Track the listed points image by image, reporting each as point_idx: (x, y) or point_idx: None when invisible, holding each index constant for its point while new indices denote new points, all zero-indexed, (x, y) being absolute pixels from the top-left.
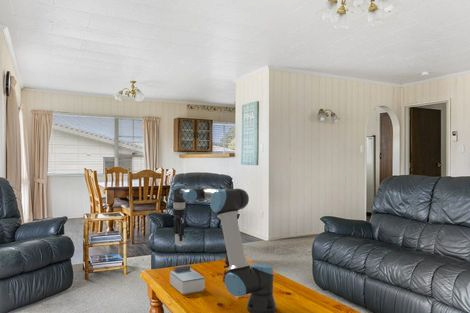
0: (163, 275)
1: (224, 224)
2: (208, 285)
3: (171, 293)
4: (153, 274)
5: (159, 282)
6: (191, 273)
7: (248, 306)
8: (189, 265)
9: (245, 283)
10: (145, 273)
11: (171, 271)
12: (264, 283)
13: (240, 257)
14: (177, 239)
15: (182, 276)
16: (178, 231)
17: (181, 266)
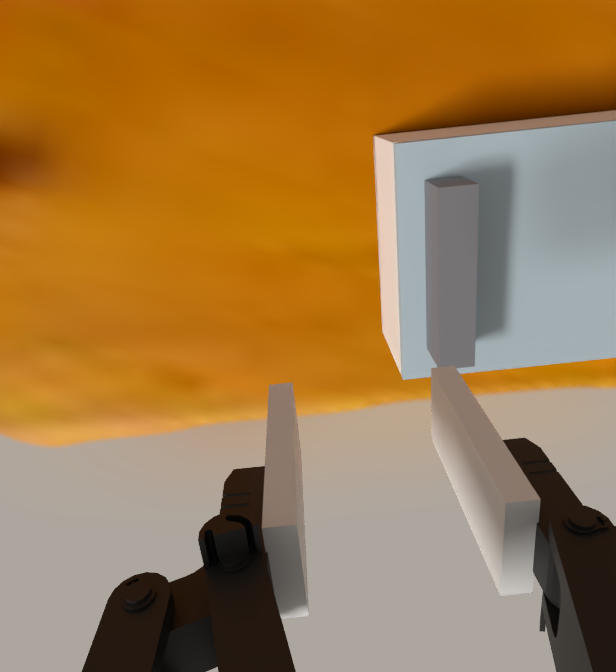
0: (135, 327)
1: None
2: (580, 7)
3: (570, 365)
4: (84, 395)
5: (303, 391)
6: (571, 199)
7: None
8: (473, 193)
9: None
10: (40, 445)
11: (406, 367)
12: None
13: None
14: (299, 475)
15: (605, 313)
16: (274, 607)
17: (462, 294)
